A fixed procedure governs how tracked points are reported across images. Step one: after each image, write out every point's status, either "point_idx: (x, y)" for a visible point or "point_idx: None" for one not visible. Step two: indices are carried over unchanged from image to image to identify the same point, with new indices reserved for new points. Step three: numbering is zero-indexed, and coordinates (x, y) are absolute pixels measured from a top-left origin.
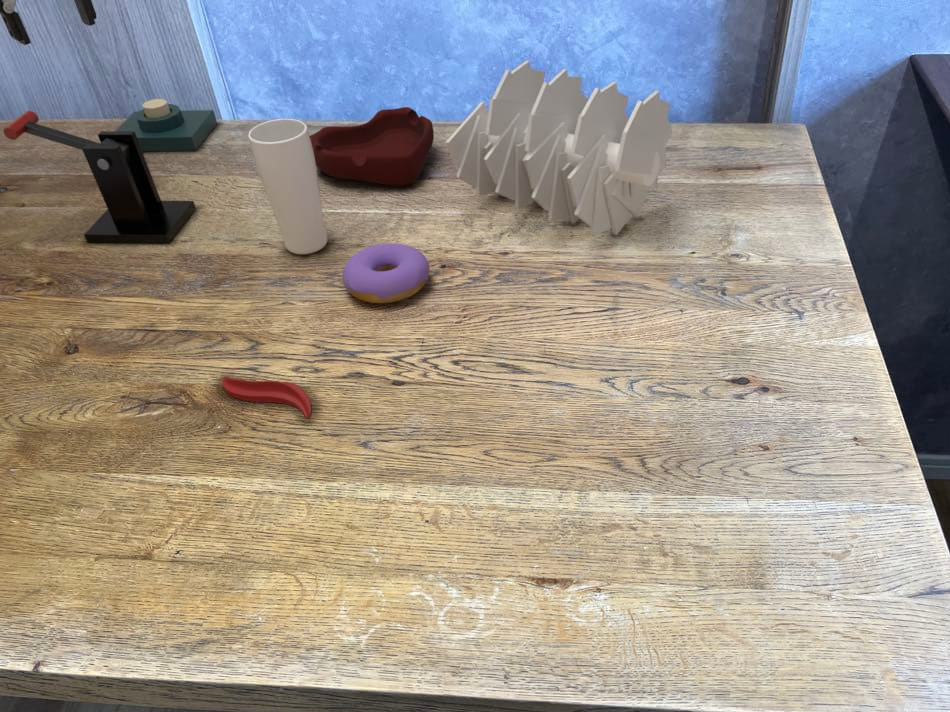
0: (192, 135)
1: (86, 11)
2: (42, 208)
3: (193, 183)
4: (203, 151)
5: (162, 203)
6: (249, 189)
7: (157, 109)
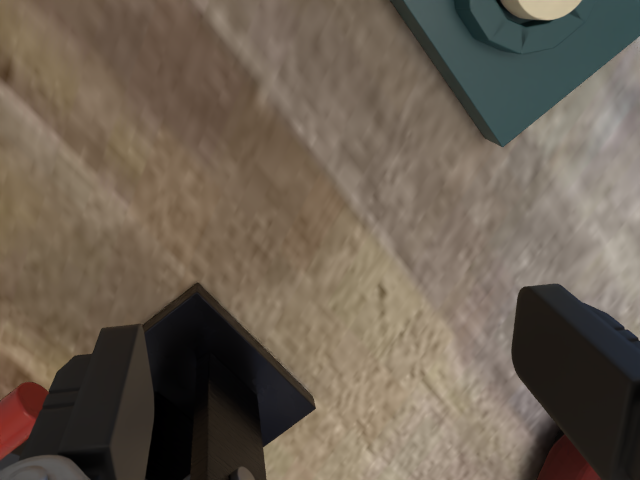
0: (510, 140)
1: (555, 418)
2: (46, 134)
3: (374, 294)
4: (493, 157)
5: (265, 378)
6: (428, 397)
7: (531, 17)
